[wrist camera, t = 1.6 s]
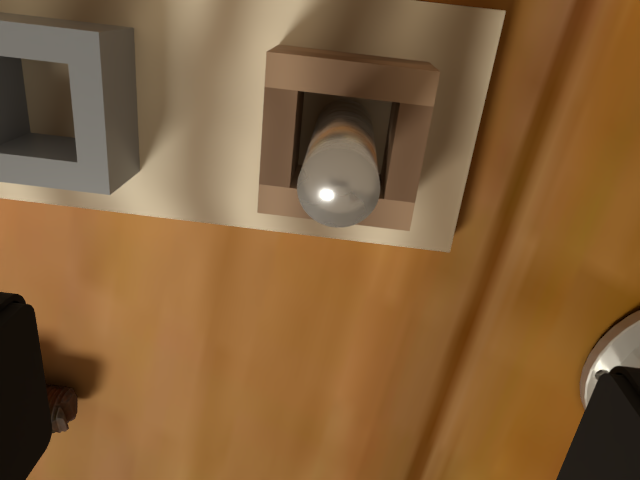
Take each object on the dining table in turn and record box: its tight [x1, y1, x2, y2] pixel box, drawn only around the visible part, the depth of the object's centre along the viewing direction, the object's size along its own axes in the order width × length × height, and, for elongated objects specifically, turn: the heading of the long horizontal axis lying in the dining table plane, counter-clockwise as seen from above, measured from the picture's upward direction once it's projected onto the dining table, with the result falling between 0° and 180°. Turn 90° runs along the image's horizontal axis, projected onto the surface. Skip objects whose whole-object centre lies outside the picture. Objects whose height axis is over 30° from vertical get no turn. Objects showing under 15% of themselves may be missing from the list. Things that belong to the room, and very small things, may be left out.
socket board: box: [0, 0, 506, 252], centre depth 27 cm, size 28×13×6 cm, turn 84°
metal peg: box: [297, 99, 380, 228], centre depth 23 cm, size 3×3×10 cm
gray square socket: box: [0, 12, 140, 195], centre depth 26 cm, size 8×8×4 cm
